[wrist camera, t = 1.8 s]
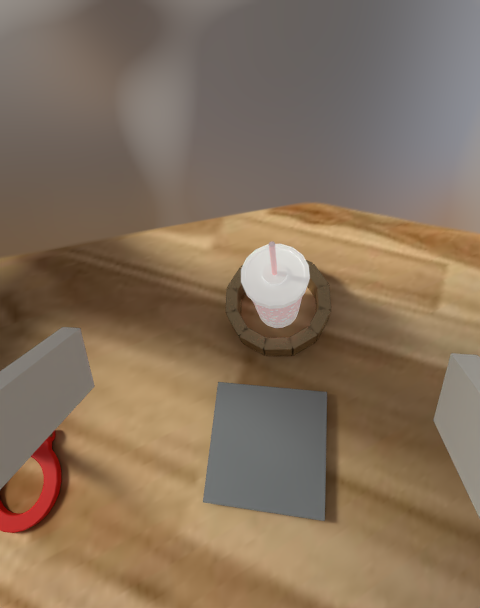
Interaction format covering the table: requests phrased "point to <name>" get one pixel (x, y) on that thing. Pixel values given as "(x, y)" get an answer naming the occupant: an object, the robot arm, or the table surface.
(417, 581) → the table surface
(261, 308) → the beverage cup
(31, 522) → the tow hook
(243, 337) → the stone block ring
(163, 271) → the table surface
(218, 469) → the coaster
